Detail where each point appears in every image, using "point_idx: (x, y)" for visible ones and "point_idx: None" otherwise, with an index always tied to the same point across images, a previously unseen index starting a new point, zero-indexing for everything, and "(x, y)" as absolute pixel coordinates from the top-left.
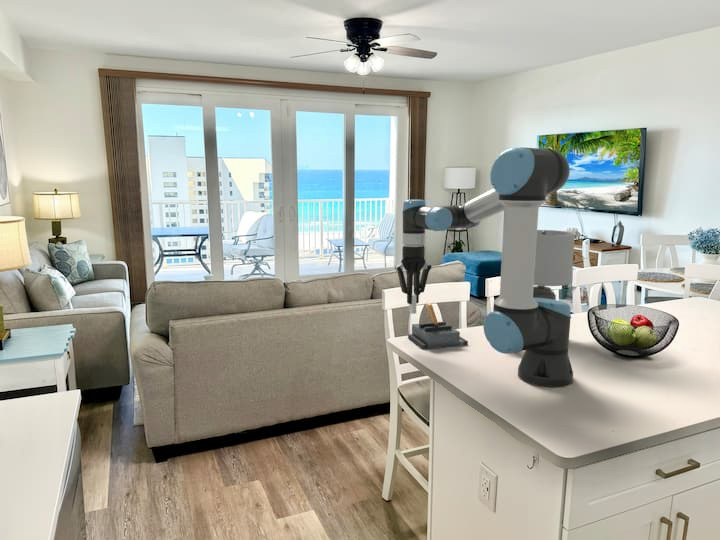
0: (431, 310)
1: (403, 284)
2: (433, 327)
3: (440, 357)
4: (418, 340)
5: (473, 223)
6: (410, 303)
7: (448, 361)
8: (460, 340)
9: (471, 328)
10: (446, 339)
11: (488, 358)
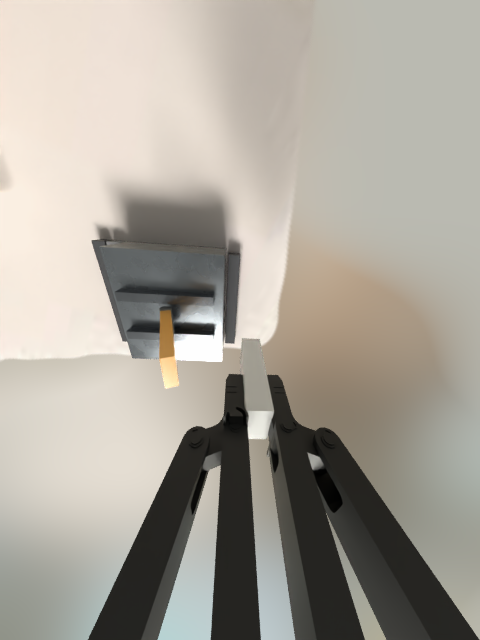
0: (170, 339)
1: (390, 525)
2: (184, 295)
3: (223, 152)
4: (231, 296)
5: None
6: (271, 376)
7: (215, 86)
8: None
9: (63, 354)
10: (160, 247)
11: (46, 43)
